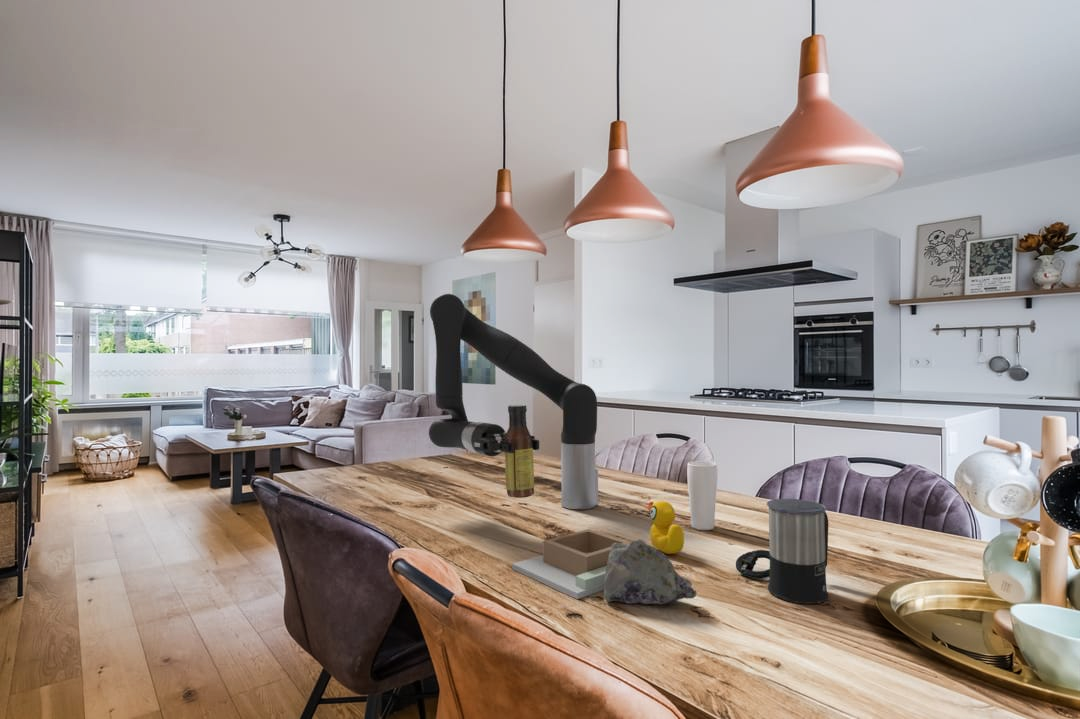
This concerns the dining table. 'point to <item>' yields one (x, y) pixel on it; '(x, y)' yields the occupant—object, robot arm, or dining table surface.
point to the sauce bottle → (519, 455)
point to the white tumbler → (702, 493)
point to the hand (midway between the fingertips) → (525, 446)
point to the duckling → (665, 528)
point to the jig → (572, 563)
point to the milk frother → (793, 552)
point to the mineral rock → (643, 576)
